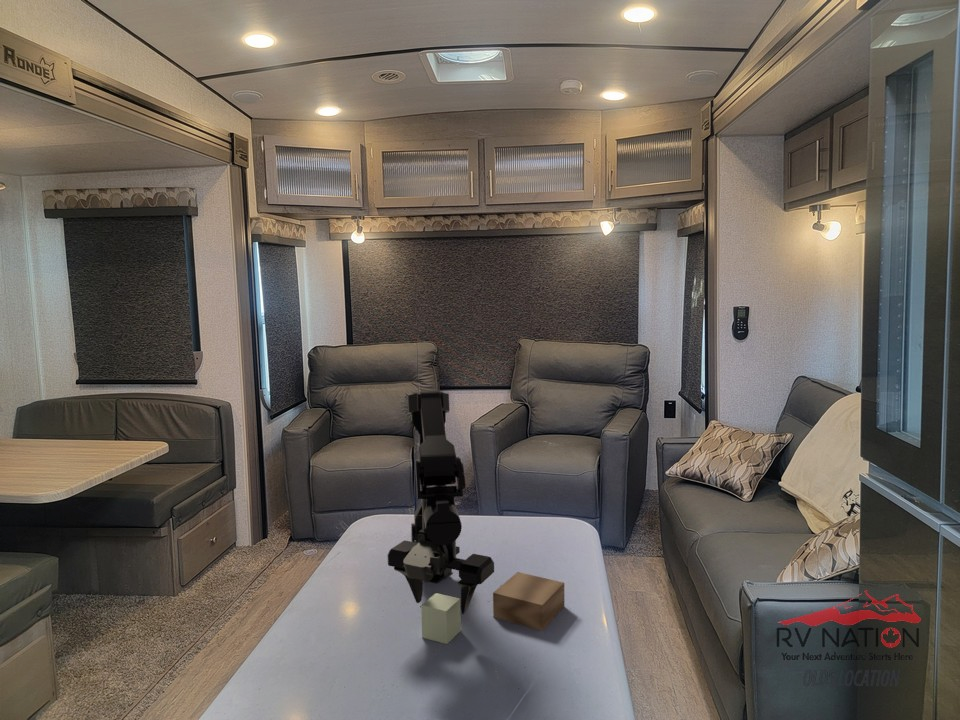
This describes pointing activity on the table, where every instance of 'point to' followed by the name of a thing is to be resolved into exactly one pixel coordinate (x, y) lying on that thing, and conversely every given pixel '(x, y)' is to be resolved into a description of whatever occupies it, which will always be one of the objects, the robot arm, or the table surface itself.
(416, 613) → the table surface
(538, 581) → the walnut block
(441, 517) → the robot arm
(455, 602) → the sage block
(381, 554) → the table surface
